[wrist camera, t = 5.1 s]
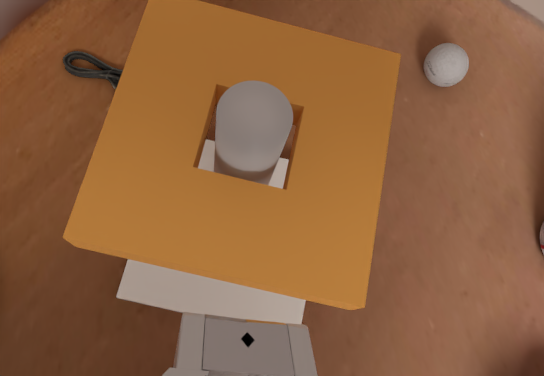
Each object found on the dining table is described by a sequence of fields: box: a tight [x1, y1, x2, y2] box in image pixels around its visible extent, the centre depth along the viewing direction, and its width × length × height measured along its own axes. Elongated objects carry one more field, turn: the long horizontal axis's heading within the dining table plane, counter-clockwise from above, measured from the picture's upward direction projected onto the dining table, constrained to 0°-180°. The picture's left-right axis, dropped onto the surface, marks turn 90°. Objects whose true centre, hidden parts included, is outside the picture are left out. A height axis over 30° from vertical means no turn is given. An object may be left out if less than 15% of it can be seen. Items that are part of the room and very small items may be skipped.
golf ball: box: [424, 43, 469, 87], centre depth 45 cm, size 4×4×4 cm
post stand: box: [116, 81, 306, 324], centre depth 29 cm, size 14×14×22 cm
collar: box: [62, 0, 401, 310], centre depth 21 cm, size 12×12×2 cm
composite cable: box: [63, 51, 123, 91], centre depth 41 cm, size 10×5×2 cm, turn 55°
